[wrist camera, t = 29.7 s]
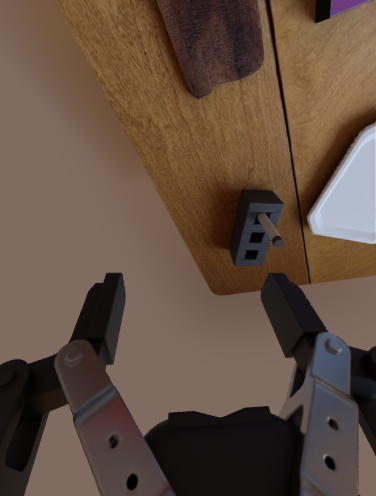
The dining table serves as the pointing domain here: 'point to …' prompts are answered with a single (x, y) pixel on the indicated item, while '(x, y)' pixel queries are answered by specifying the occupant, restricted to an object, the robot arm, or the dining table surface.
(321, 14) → the book
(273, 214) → the pen block
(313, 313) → the robot arm
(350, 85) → the dining table surface
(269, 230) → the stylus
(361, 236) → the plate
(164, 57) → the dining table surface
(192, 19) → the wooden tablet
